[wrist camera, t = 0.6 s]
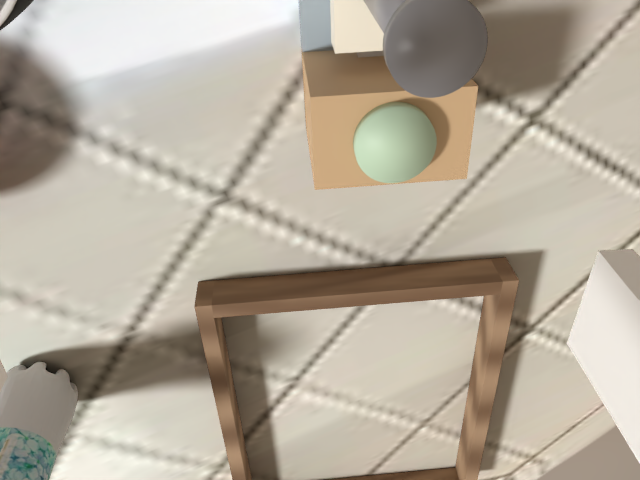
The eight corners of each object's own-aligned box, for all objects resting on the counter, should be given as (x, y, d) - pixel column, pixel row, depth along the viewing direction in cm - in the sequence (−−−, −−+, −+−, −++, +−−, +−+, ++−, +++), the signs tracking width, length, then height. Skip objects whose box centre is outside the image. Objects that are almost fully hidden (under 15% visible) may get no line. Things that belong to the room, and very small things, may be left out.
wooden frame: (198, 281, 42) (194, 306, 40) (505, 257, 43) (519, 280, 41) (242, 494, 59) (241, 520, 57) (465, 472, 60) (473, 498, 58)
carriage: (324, -91, 28) (363, -47, 17) (424, -96, 28) (525, -56, 17) (328, 33, 32) (362, 136, 21) (417, 28, 32) (497, 127, 21)
